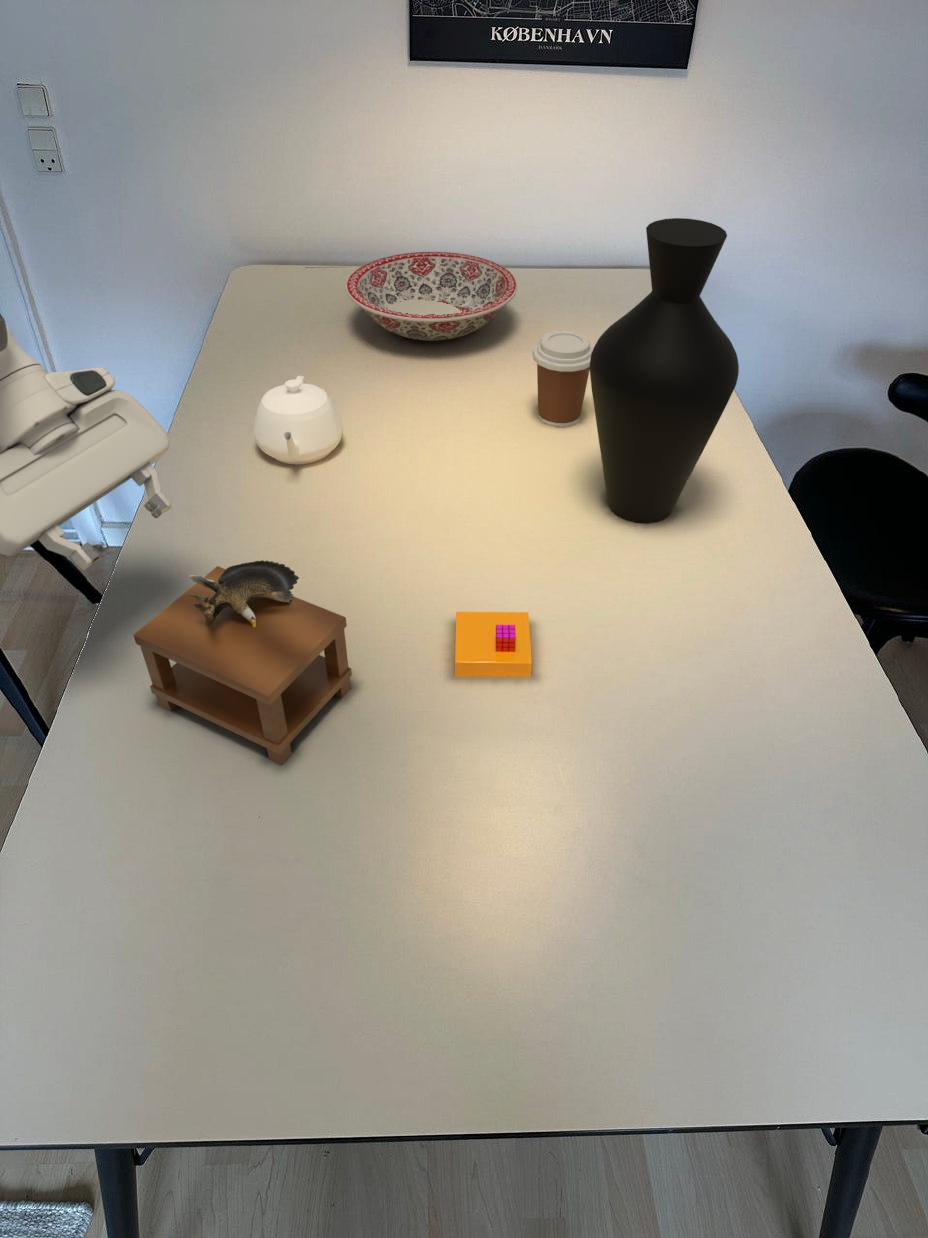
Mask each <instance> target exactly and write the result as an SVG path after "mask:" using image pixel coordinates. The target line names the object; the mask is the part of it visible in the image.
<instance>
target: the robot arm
mask: <svg viewBox="0 0 928 1238" xmlns="http://www.w3.org/2000/svg"><path fill="white" fill-rule="evenodd" d="M115 384H116V380H115V378H114V377H113V375H112V374H111V373H110V372H109V370H107V369H106V368H104V367H99V366H98V367H90V368H84V369H77V370H76V369H75V370H65V371H51V372H49V371H47V370H46V369H45V367H44V366H43V365H42V364H41V363H40V362H39V361H38V360H37V359H35V358H33V357H32V356H31V355H29V354H28V353H27V352H26V351H24V350H23V348H21V346H20V345H19V344H18V342H17V340H16V339H15V337H14V335H13V333H12V330H11V329H10V328H9V326H8V325H7V323H6V320H5V318H4V317H3V315H2V314H1V313H0V555H4V556H7V557H14V556H16V555H17V554H19V553H20V552H22V551H24V550H25V549H26V548H28V547H30V546H31V545H33V544H34V543H35V542H37V541H39V542H40V543H41V545H42V546H43V547H44V548H45V549H46V550H47V551H49V552H53V553H55V554H57V555H58V554H59V555H61V556H64V557H66V558H70V559H71V560H72V561H73V562H74V563H75V564H76V565H77V566H78V567H79V568H80V569H81V570H83V571H86V570H87V569H89V568H90V567H92V566H93V565H94V564H96V563H97V562H98V561H99V560H100V559H101V556H100V554H99V552H98V551H97V550H94V547H93V546H92V544H91V543H89V542H88V541H87V542H86V543H84V544H83V545H80V544H77V543H76V542H73V541H70V540H69V539H67V538H64V537H63V536H64V535H65V530H63V529H62V527H61V525H63V524H65V523H66V522H67V521H69V520H71V519H72V518H73V517H75V516H76V515H78V514H80V513H81V512H82V511H84V510H86V509H87V508H89V507H90V506H92V505H93V504H95V503H96V502H97V501H99V500H101V499H103V497H106V495H108V494H110V493H111V492H113V491H114V490H116V489H117V488H119V487H120V486H122V485H123V484H125V483H127V482H128V481H130V480H131V479H132V480H133V481H134V483H135V484H136V485H137V486H138V487H141V486H144V489H145V493H146V496H147V500H148V501H146V502H145V504H143V507H144V508H145V509H146V510H147V511H148V512H150V514H151V516H152V517H153V518H154V519H159V518H160V517H161V516H163V515H164V514H165V513H168V511H169V510H170V509H171V508H172V503H171V502H170V500H169V499H168V498H167V497H166V496H165V494H163V493H162V487H161V483H160V479H159V474H158V471H157V470H156V468H155V467H154V466H153V465H154V464H155V463H157V462H158V461H160V460H161V458H162V457H164V455H165V454H166V453H167V452H168V451H169V450H170V445H171V444H170V438H169V437H170V436H169V434H168V433H167V431H166V430H165V429H164V427H163V426H162V425H161V424H160V423H159V422H158V420H157V419H156V418H155V417H154V416H153V415H152V413H150V412H149V410H148V409H147V408H146V407H145V406H144V405H143V404H141V403H140V402H139V400H138V399H137V398H135V397H134V396H133V395H131V394H130V393H129V392H126V391H124V390H120V389H113V388H114V387H115Z"/></svg>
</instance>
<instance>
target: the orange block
mask: <svg viewBox="0 0 928 1238" xmlns="http://www.w3.org/2000/svg"><path fill="white" fill-rule="evenodd" d="M530 628H531V627H530V615H529V612H528V611H527V612H525V611H524V612H523V611H513V612H512V611H456V612H455V644H454V645H455V649H454V676H455V677H469V678H470V677H471V678H472V677H475V678H478V677H480V678H481V677H483V678H531V677H532V666H533V658H532V644H531V629H530Z"/></svg>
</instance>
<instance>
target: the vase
mask: <svg viewBox="0 0 928 1238" xmlns="http://www.w3.org/2000/svg"><path fill="white" fill-rule="evenodd" d="M645 231H646V242H647V253H648V262H649V274H650V283H651V292H650V293H648V294H647V295H646V296H645V297H644V298H643V299H642V300H641V301H640V302H638V303H637V305H635V306H634V307H633V308H631V309H630V310H629V311H627V313H625V314H624V315H623V316H621V317H620V318H619V319H618V320H616V321H615V322H613V323H612V324H611V325H610V326H608V328H606V330H605V331H604V332H603V333H602V334H601V335H600V336H599V337H598V339H597V341H596V343H595V345H594V346H593V347H592V348H593V351H592V354H591V359H590V366H589V367H590V370H589V375H590V376H589V377H590V386H591V394H592V401H593V409H594V416H595V423H596V429H597V438H598V444H599V452H600V457H601V458H600V459H601V464H602V472H603V478H604V486H605V487H604V488H605V494H606V500H607V501H606V502H607V507H608V508H609V510H610V512H612V513H613V514H614V515H615V516H616V517H618V518H619V519H622V520H624V521H626V522H631V523H634V524H644V525H645V524H647V525H648V524H649V525H650V524H654V523H655V524H656V523H659V522H662V521H664V520H665V519H667V518H668V517H669V516H670V515H671V514H672V512H673V510H674V508H675V506H676V504H677V502H678V500H679V499H680V496H681V494H682V492H683V490H684V488H685V486H686V485H687V483H688V481H689V479H690V477H691V475H692V474H693V471H694V469H695V468H696V465H697V464H698V462H699V461H700V458H701V456H702V454H703V452H704V450H705V448H706V446H707V444H708V442H709V441H710V439H711V437H712V434H713V433H714V431H715V429H716V427H717V425H718V423H719V421H720V419H721V417H722V415H723V414H724V412H725V409H726V407H727V405H728V403H729V401H730V399H731V397H732V395H733V392H734V390H735V388H736V386H737V383H738V379H739V374H740V366H739V359H738V354H737V351H736V350H735V347H734V345H733V343H732V342H731V340H730V338H729V336H728V335H727V334H726V333H725V332H724V330H723V329H722V328H721V326H720V325H719V324H718V322H717V321H716V319H714V316H713V315H712V314H711V312H710V311H709V309H708V307H707V306H706V304H705V302H704V301H703V299H702V298H701V297H702V296H701V295H702V293H703V290H704V288H705V286H706V284H707V281H708V279H709V277H710V275H711V272H712V270H713V268H714V266H715V263H716V261H717V259H718V257H719V255H720V253H721V251H722V249H723V246H724V245H725V242H726V240H727V237H728V233H727V231H726V230H725V229H724V228H723V227H721V226H719V225H717V224H714V223H712V222H709V221H705V220H701V219H694V218H684V217H683V218H682V217H674V218H664V219H658V220H654V221H652V222H650V223H649V224H648V225H647V226H646V227H645Z"/></svg>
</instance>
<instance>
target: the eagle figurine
mask: <svg viewBox="0 0 928 1238" xmlns="http://www.w3.org/2000/svg"><path fill="white" fill-rule="evenodd" d="M225 569H226V570H225V571H224V572H223V574H222V575H221V577H219V579H218V581H216V580H208V579H205V578H203V577H204V576H202V575H196V574H189V575H188V577H189V578H190V579H191V581H192V582H194V583H199V584H200V585H202V586H204V587H206V588H210V589H212V590H213V591H215V592H216V593H215V595H214V596H213V597H212V598H211V599H210V600H209V601H208V597H207V596H206V597H204V596H203V595H198V594H190V596H193V597H195V598H197V599H198V601H199V603H200V604H197V603H195V607H196V608H199V609H200V611H202V613H203V614H204V616H205V618H206V625H207V626H209V625H211V624H212V623H214V622H215V620H216V618H217V615H219V613H220V612H221V611H222V610H223V609H224V608H226V607H230V608H232V609H233V610H234V611H235V612H237V613H239V614H241V615H242V616H243V617H245V618H246V619H247V620H248V621H249V622H250V623H251V624H252V625H253V628H254V627H256V618H255V615H254V613H253V612H252V610H251V609H250V608H249V607H248V605H247V603H246V602H247V601H248V600H250V599H253V598H265V599H273V600H277V601H281V602H287V603H289V602H290V600H292V598H291V597H293V596H294V594H293V593H292V591H291V590H293V589H294V588H295V586H294V585H296V584H298V580H299V579H300V577H299V576H298V575H297V574H296V572H295V570H292V569H291V567H290V566H286V564H284V563H279V562H274V561H272V560H271V561H269V560H263V559H261V560H254V561H250V562H243V563H240V564H235V565H230V566H228V567H227V568H225Z"/></svg>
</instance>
